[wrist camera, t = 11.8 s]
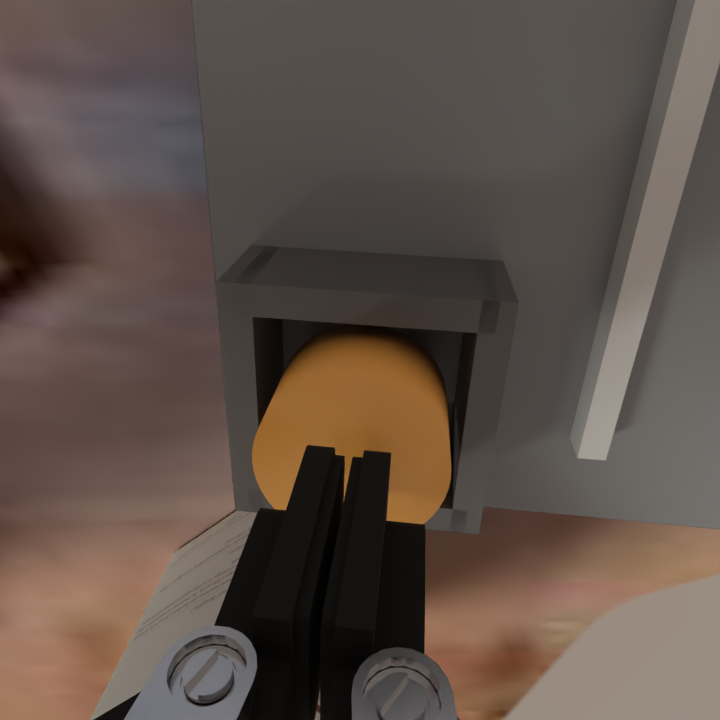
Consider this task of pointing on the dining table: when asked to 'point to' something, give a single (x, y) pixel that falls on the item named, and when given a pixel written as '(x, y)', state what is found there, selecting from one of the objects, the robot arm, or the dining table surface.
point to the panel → (482, 231)
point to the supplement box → (181, 605)
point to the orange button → (360, 416)
